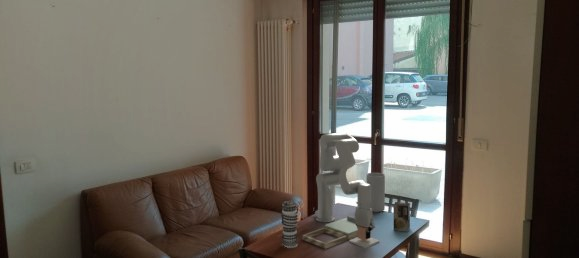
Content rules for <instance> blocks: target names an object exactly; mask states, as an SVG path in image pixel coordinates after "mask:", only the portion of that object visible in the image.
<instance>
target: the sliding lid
mask: <svg viewBox="0 0 579 258" xmlns="http://www.w3.org/2000/svg"><path fill="white" fill-rule="evenodd" d="M354 220H355V216H353V215H347V217H345V218H342V219H341V218H340V219H338V220H334V221H332V222H328V223H327V224H325V225H324V227H327V228H330V229H333V230H336V231H339V232H342V233H344V234H347V235H350V234H352V233H355V232H358V229H357V226H356V224H355V223H354Z"/></svg>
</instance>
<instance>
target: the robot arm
mask: <svg viewBox="0 0 579 258" xmlns="http://www.w3.org/2000/svg"><path fill="white" fill-rule="evenodd" d="M319 145H320V155H319V158H320V159H319V168H320V170H321V172H319V173H318V174H317V175H316V177H315V180H316V185H317V210H315V212H314V214H315V215H316V216H315V221H317V222H320V223H332V222H335V221H336V217H335V216H334V215H333V214H334V213H333V212H334V211H333V210H334V206H333V205H334V204H333V203H334V200H333V191H332V190H331V188H330V187H334V186H339V185H340V187H341V188H340V189H341V190H342V192H343V194H344V195H346V196H350V195H357V196H356V197H357V199H356V200H357V201H355V203H356V205H357V206H356V207H355V211H354V217H355V220H354V223H355V224H356V226H357V229H358V226H363V227H366V230H367V232H366V239H368V238H371V234H372V232H371V231H373V230H374V229H375V228H376V225H375V224H374V214H373V213H374V212H372V209H371V185H370V184H368V183H366V181H364V180H363V179H358V180H349V181H348V179H347V171H348V170H349V169H351V168H352V167H355V165H356V159H355V156H354V154H353V153H357V152H359V150H360V149H359V148H360V144H359V142H358V140H357V139H356V138H354V137H353V136H352V135H350V134H348V133H347V132H335V133H326V134H322V135H321V137H320V139H319ZM334 148H335V149H334ZM335 151H336V154H337V155H335ZM322 171H323V172H322ZM368 227H369V228H368Z"/></svg>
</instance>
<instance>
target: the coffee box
mask: <svg viewBox="0 0 579 258" xmlns="http://www.w3.org/2000/svg"><path fill="white" fill-rule="evenodd" d="M392 208H393V229H392V230H393V231H399V232H406V233H409V231H410V230H411V203H410V202H400V201H395V202H394V204H393V206H392Z"/></svg>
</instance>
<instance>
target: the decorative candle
mask: <svg viewBox="0 0 579 258" xmlns="http://www.w3.org/2000/svg"><path fill="white" fill-rule="evenodd" d="M281 206H282V211H281V212H280V216H281V226H282V233H281V234H282V236H281V237H282V240H281V241H282V242H281V243H282V246H283V245H284V246H285V247H287V248H286V249H292V248H294V249H295V248H296V247H298V246H299V245H298V232H297V231H298V229H297V226H298V221H297V220H298V213H299V212H298V211H297V203H296V202H295V201H293V200H285V201H284V202H282V204H281ZM285 247H284V248H285Z"/></svg>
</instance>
